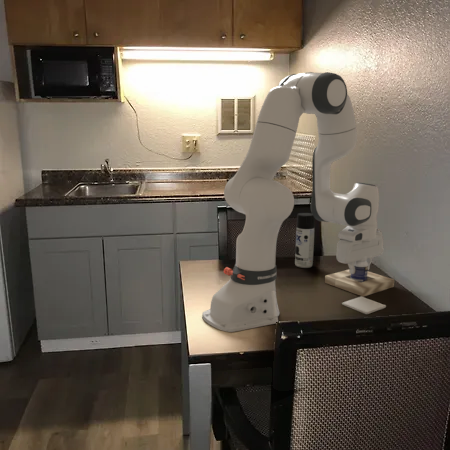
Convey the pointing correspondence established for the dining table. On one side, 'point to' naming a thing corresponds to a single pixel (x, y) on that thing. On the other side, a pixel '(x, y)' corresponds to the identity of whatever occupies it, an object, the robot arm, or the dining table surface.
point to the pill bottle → (360, 270)
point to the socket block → (359, 283)
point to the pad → (364, 305)
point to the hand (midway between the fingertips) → (359, 271)
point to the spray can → (304, 240)
